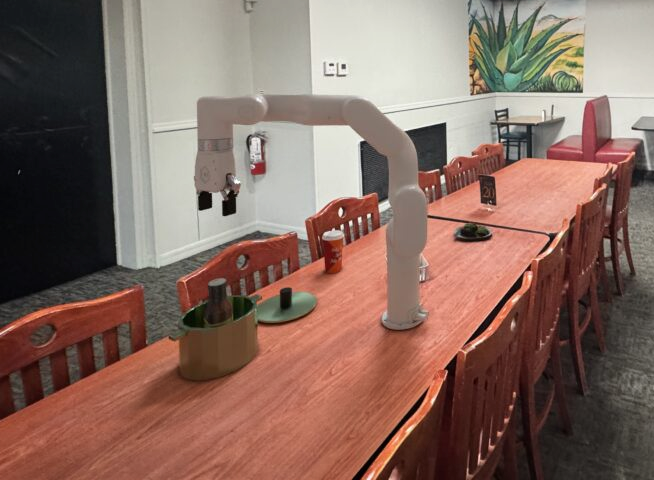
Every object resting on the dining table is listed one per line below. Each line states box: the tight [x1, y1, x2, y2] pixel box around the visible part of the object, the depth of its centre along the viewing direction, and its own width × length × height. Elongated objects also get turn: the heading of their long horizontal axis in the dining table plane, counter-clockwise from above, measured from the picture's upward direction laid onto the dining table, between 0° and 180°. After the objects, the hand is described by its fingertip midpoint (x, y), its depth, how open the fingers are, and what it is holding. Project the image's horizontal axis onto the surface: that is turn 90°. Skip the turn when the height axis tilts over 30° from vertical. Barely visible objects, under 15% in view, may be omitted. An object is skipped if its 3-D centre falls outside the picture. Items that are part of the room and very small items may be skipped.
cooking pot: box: [168, 293, 263, 381], centre depth 115 cm, size 17×22×12 cm
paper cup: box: [321, 229, 345, 274], centre depth 167 cm, size 8×8×14 cm
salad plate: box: [453, 222, 493, 242], centre depth 207 cm, size 19×18×5 cm
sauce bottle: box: [204, 277, 233, 328], centre depth 115 cm, size 7×6×20 cm
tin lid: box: [257, 286, 318, 324], centre depth 139 cm, size 18×18×6 cm
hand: (217, 212), depth 113 cm, fingers open, 9 cm apart
